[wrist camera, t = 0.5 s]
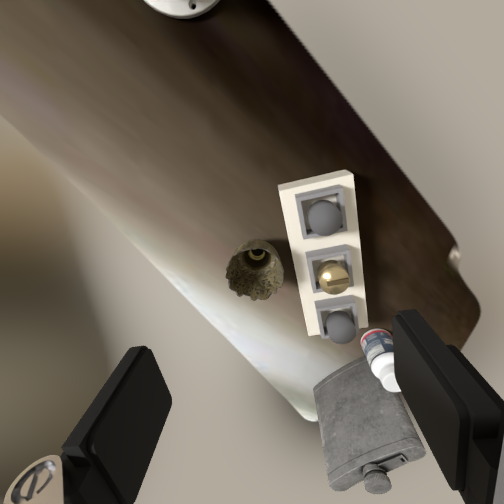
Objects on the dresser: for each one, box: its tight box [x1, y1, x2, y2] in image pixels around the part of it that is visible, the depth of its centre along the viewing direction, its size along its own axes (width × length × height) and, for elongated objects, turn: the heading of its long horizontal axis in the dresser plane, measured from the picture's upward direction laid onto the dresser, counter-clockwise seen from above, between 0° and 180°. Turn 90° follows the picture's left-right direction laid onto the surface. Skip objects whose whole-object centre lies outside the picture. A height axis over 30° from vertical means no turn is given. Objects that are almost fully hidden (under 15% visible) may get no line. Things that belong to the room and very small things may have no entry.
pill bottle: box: [361, 329, 401, 392], centre depth 44 cm, size 5×5×9 cm
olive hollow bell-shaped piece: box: [226, 240, 284, 301], centre depth 39 cm, size 8×7×8 cm
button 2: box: [307, 200, 343, 236], centre depth 32 cm, size 4×4×3 cm
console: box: [278, 170, 368, 339], centre depth 39 cm, size 23×9×6 cm, turn 14°
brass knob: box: [317, 260, 350, 295], centre depth 35 cm, size 4×4×3 cm
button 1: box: [325, 311, 356, 344], centre depth 38 cm, size 4×4×3 cm
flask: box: [313, 356, 426, 494], centre depth 43 cm, size 4×14×18 cm, turn 134°
